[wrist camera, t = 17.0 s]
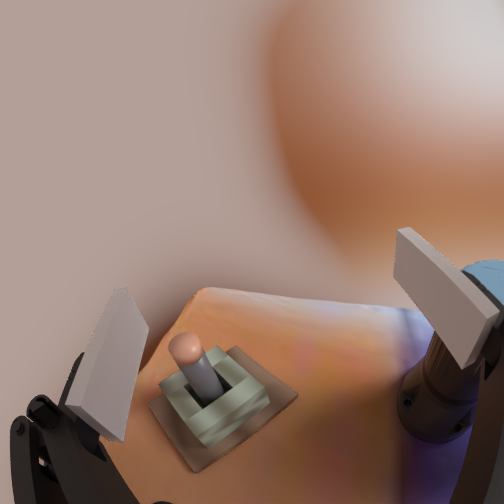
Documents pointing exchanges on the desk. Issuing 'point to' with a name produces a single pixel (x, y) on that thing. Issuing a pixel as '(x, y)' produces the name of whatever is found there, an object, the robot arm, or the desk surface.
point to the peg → (196, 367)
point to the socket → (220, 407)
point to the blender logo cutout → (161, 502)
